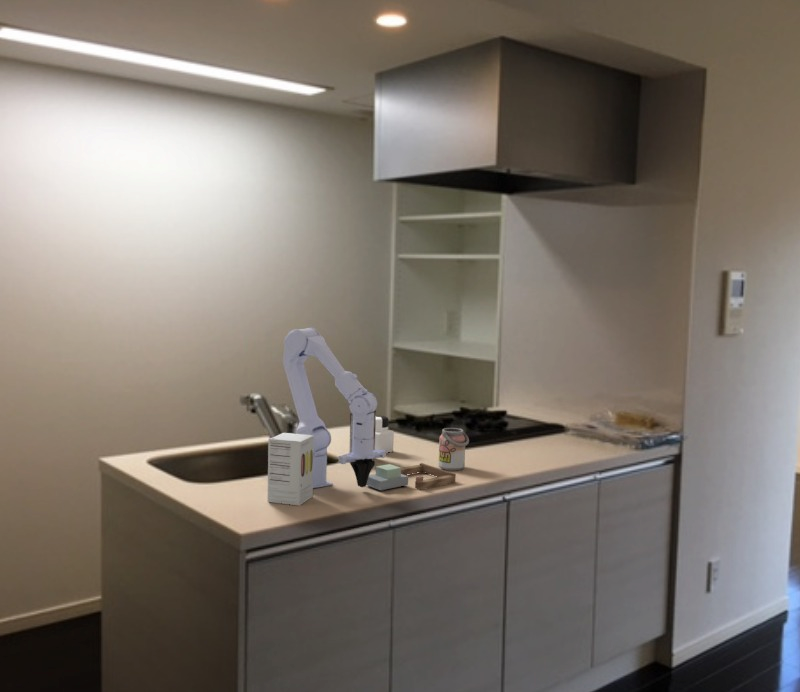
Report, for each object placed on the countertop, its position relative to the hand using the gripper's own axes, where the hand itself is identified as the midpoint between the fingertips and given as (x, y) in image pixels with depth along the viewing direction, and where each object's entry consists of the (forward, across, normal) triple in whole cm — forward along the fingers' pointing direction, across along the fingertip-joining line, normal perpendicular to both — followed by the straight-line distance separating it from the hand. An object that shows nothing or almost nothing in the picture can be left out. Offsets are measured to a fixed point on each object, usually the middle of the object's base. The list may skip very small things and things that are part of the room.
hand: (361, 486), depth 220 cm
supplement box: (+2, -20, +4) cm, 21 cm away
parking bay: (+1, +21, 0) cm, 21 cm away
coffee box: (+2, +21, +28) cm, 35 cm away
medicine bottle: (+2, +33, +35) cm, 48 cm away
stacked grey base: (+1, +9, 0) cm, 9 cm away
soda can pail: (+2, +39, +5) cm, 39 cm away
